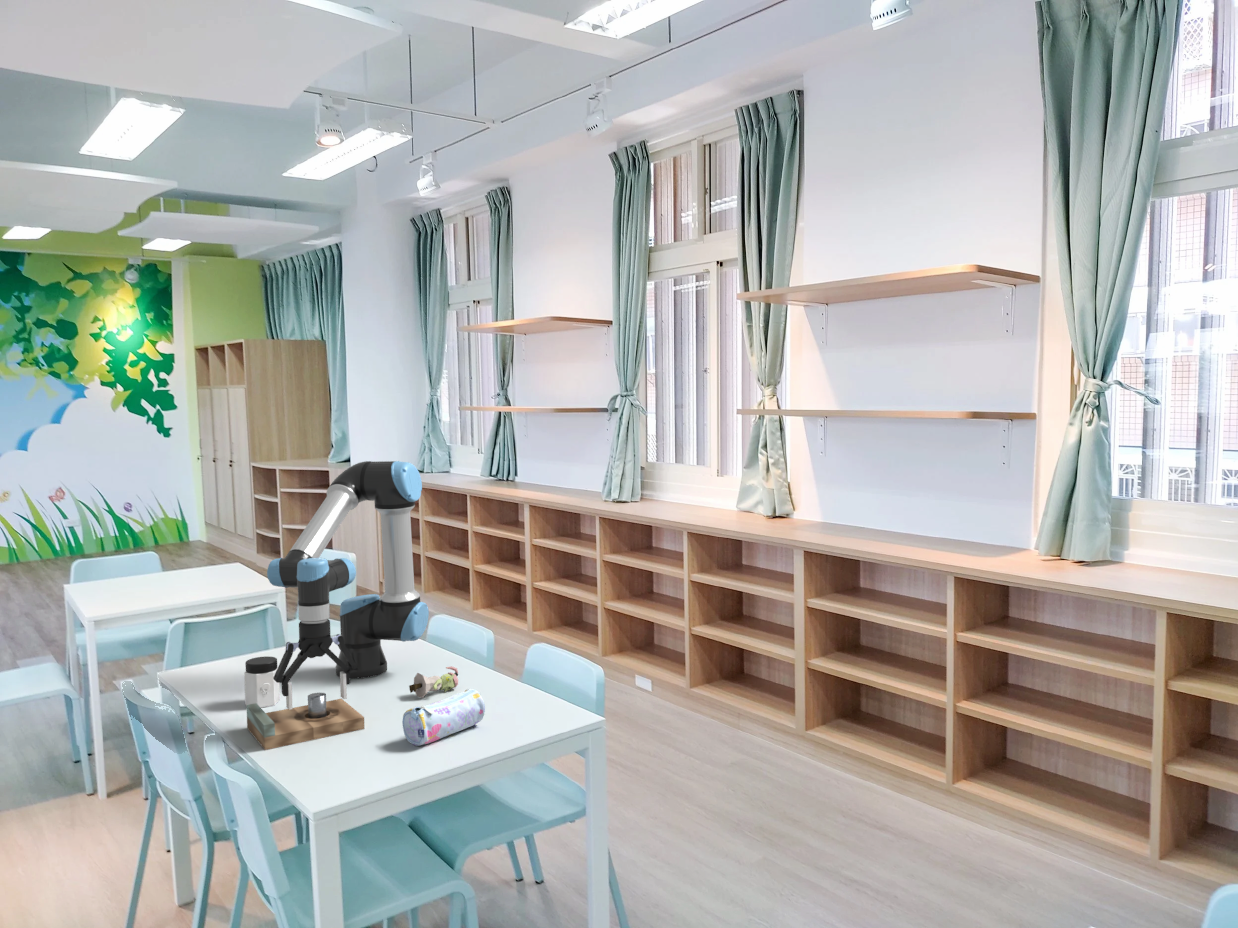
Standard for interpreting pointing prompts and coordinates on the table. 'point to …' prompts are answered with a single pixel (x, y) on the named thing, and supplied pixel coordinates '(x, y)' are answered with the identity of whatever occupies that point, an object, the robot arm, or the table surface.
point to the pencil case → (443, 717)
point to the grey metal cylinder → (317, 705)
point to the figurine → (434, 683)
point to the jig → (301, 724)
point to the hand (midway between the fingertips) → (317, 702)
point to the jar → (261, 682)
